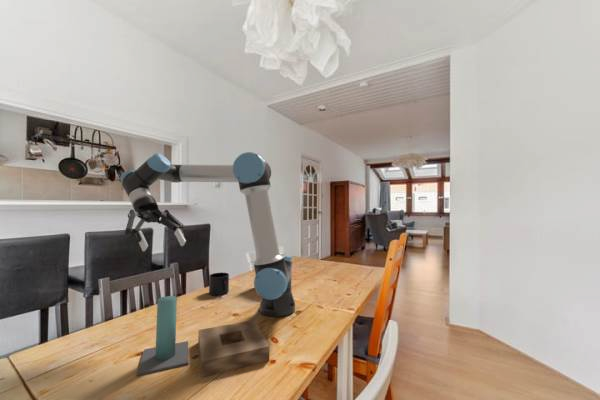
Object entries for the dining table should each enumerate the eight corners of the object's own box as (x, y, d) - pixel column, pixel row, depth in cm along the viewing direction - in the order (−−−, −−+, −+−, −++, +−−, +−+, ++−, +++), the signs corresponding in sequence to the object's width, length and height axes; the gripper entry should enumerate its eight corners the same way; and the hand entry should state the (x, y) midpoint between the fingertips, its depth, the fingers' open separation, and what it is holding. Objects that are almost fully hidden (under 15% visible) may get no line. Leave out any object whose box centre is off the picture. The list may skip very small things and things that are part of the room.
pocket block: (253, 331, 88) (253, 320, 88) (269, 360, 71) (269, 346, 71) (198, 342, 80) (198, 329, 80) (201, 377, 64) (201, 361, 64)
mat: (188, 342, 80) (188, 341, 80) (188, 364, 69) (188, 362, 69) (144, 351, 75) (144, 349, 75) (136, 376, 64) (136, 373, 64)
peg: (175, 349, 75) (177, 295, 76) (174, 358, 71) (176, 300, 72) (156, 352, 73) (158, 297, 74) (154, 362, 69) (156, 302, 69)
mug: (217, 298, 119) (217, 279, 119) (205, 292, 127) (206, 274, 127) (234, 294, 125) (235, 276, 126) (222, 288, 134) (223, 271, 134)
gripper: (170, 209, 107) (192, 248, 99) (101, 209, 86) (121, 258, 77) (178, 197, 105) (201, 235, 96) (109, 193, 83) (131, 243, 75)
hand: (166, 246), depth 87 cm, fingers open, 13 cm apart
